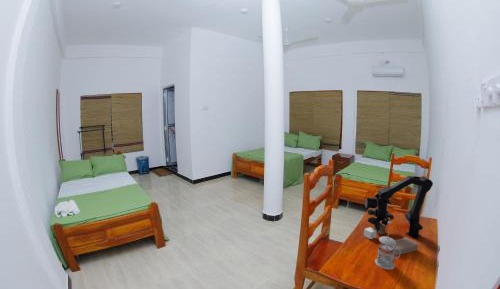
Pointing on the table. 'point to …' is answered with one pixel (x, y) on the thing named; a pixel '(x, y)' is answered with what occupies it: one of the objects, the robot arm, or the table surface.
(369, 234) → the white cube
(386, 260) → the french press
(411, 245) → the brick
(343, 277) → the table surface
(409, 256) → the table surface
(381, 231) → the walnut cube
